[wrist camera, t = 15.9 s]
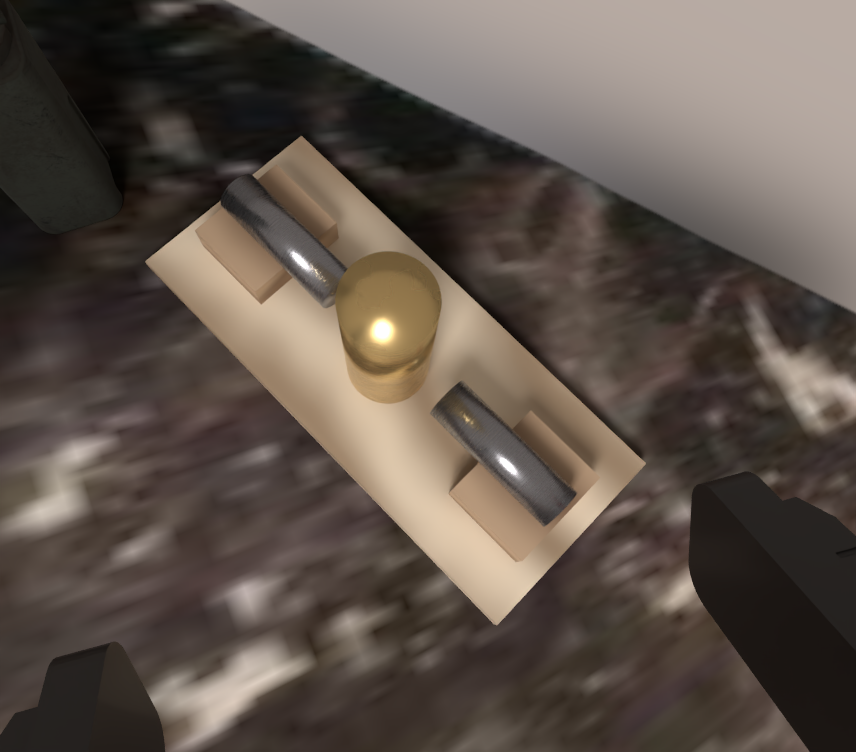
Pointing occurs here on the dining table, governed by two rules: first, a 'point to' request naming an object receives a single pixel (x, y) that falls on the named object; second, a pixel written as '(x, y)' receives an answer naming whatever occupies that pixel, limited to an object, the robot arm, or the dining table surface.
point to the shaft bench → (410, 419)
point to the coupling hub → (388, 324)
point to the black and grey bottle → (47, 140)
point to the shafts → (457, 407)
